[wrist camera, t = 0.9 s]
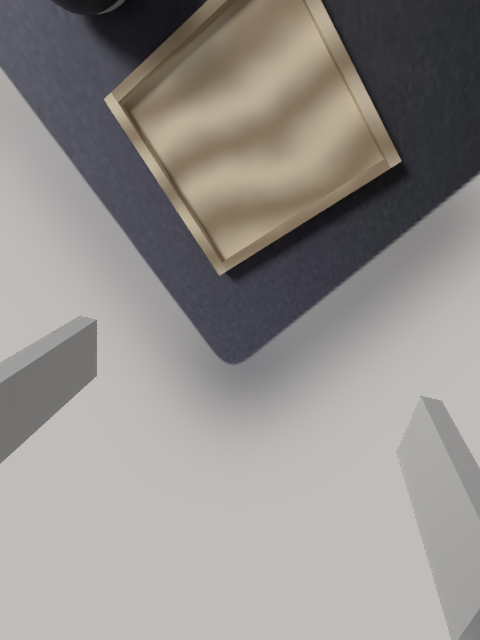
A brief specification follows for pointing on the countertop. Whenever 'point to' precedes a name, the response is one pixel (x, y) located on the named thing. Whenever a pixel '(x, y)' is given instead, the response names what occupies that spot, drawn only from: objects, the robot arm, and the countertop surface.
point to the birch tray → (252, 122)
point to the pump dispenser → (88, 6)
